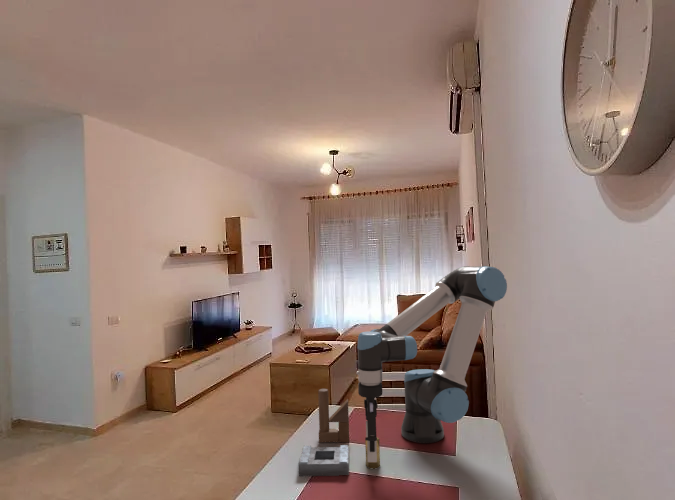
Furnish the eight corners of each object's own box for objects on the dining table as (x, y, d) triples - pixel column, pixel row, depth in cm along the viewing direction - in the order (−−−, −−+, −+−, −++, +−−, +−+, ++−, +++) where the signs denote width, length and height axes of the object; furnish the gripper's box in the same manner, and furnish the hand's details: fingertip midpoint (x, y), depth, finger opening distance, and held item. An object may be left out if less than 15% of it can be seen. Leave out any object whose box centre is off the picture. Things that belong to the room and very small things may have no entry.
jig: (349, 457, 132) (348, 445, 132) (348, 475, 121) (348, 461, 121) (303, 458, 133) (302, 445, 133) (298, 476, 122) (298, 462, 122)
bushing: (379, 461, 129) (378, 435, 129) (380, 468, 124) (379, 441, 125) (365, 462, 129) (365, 436, 129) (366, 469, 125) (365, 442, 125)
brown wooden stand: (349, 442, 143) (347, 391, 144) (318, 443, 144) (317, 391, 144) (349, 438, 147) (347, 387, 147) (319, 438, 147) (318, 388, 148)
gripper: (357, 371, 140) (358, 434, 139) (358, 394, 115) (359, 471, 114) (379, 371, 140) (380, 434, 139) (385, 394, 115) (386, 471, 114)
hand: (371, 451), depth 127 cm, fingers open, 13 cm apart
